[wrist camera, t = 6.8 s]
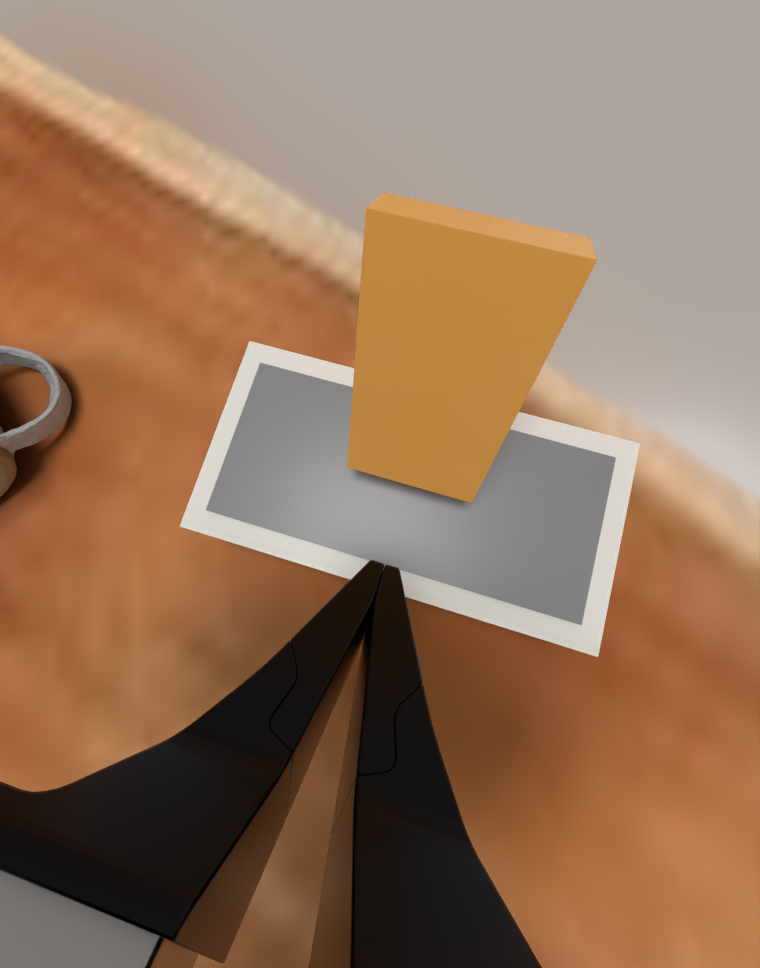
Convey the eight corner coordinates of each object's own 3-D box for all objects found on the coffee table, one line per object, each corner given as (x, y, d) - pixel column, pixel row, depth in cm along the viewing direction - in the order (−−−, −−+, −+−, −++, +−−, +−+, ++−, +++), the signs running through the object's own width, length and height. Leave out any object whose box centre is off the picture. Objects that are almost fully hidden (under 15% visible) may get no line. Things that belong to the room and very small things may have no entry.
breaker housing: (553, 632, 18) (602, 659, 14) (222, 529, 20) (175, 526, 16) (590, 463, 20) (644, 441, 15) (276, 378, 21) (247, 337, 17)
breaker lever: (471, 503, 14) (596, 260, 8) (347, 467, 14) (366, 208, 8) (475, 473, 15) (589, 237, 9) (359, 441, 15) (384, 193, 9)
